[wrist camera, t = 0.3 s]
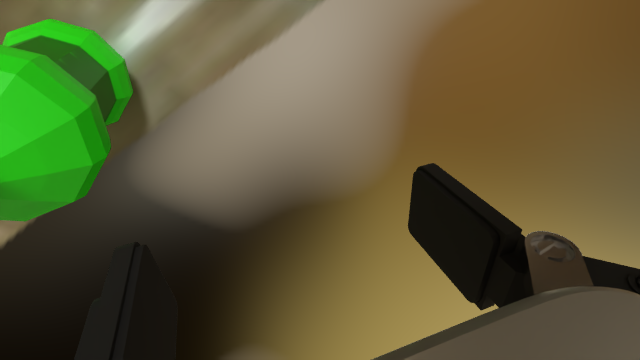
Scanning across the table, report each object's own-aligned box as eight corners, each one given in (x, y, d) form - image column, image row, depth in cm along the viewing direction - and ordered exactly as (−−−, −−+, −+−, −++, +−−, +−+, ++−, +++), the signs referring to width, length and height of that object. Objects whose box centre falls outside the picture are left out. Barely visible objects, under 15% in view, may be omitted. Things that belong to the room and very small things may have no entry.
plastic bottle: (94, 137, 35) (-32, 343, 15) (-15, 58, 29) (-470, 232, 9) (162, 80, 35) (122, 218, 15) (65, -14, 28) (-236, 4, 8)
